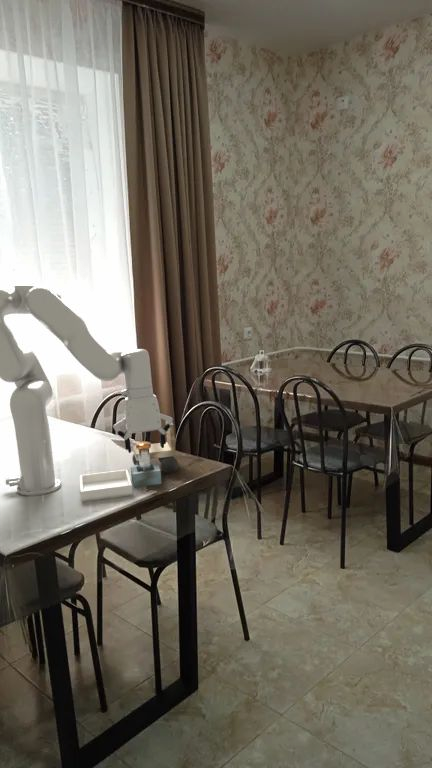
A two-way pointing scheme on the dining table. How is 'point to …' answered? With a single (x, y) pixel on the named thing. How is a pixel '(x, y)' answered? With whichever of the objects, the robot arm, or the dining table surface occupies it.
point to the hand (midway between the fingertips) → (146, 449)
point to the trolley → (164, 457)
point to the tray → (105, 485)
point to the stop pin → (144, 455)
